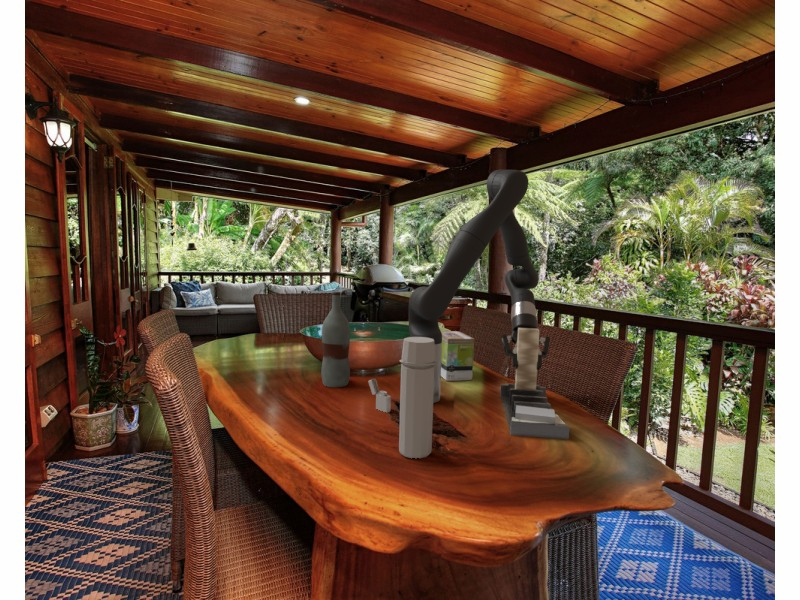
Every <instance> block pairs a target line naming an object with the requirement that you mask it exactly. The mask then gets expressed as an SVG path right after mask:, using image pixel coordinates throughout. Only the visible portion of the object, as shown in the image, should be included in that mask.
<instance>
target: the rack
mask: <svg viewBox="0 0 800 600" xmlns="http://www.w3.org/2000/svg"><path fill="white" fill-rule="evenodd" d="M499 395H500V399H501V403H502V406H503V411H504V414H505V419H506V422H507V426H508V429H509V435H510V436H519V437H529V438H530V437H531V438H543V439H555V440H556V439H557V440H569V439H570V425H569V424H565V425H559V424H545V423H530V422H518V421H512V417H515V413H516V405H518V406H527V407H536V408H545V409H552V405H551V403H549V402H548V397H547V396H546V395H547V388H546V386H541V385H540V384H536V390H527V389H515V383H511V382H508V384H505V383H504V384H503V383H502V384H500V390H499Z"/></svg>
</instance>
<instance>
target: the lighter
mask: <svg viewBox="0 0 800 600" xmlns="http://www.w3.org/2000/svg"><path fill="white" fill-rule="evenodd" d="M367 382H368V385H369V388H370V391H371V394H372V396H373V395H375V410H376V409H378V410H377V411H379V410H380V411H379V412H382V411H383V413H385V412H386V414H387V413H390V412H391V408H392V407H391V404H392V399H391V398H392V397H391V395H389V394H388V392H387V391H385V390H380V388H379V385H378V382H377V379H376V378H371V379H369V380H368V381H367Z"/></svg>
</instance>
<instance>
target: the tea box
mask: <svg viewBox="0 0 800 600" xmlns="http://www.w3.org/2000/svg"><path fill="white" fill-rule="evenodd" d="M441 333H442V355H441V377H442V378H443V379H444V381H447V382H449V381H452V382H453V381H456V382H457V381H472V380H473V374H474V373H473V371H474V370H473V369H474V367H473V366H474V351H475V350H474V349H475V338H474V337H471V336H470V335H467V334H465V333H463V332H461V331H459V330H458V331H456V330H455V331H441Z"/></svg>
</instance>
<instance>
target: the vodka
mask: <svg viewBox="0 0 800 600" xmlns="http://www.w3.org/2000/svg"><path fill="white" fill-rule="evenodd" d="M331 294H332V295H331V297H332V298H331V310H330V311H329V312H328V314H327V316H326V317H325V318H324V320H323V322H322V326H321V342H322V355H323V356H322V363H321V369H320V370H321V371H320V372H321V380H322V384H323V386H325V387H326V386H327V387H328V388H343V387H347V385H348V384H349V381H350V376H351V375H350V374H351V369H350V358H349V354H350V353H349V352H350V341H351V326H350V322H349V320H348V319H347V317H346V315H345V314H344V311H343V310H342V309H341V291H332V292H331ZM327 387H326V388H327Z"/></svg>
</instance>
